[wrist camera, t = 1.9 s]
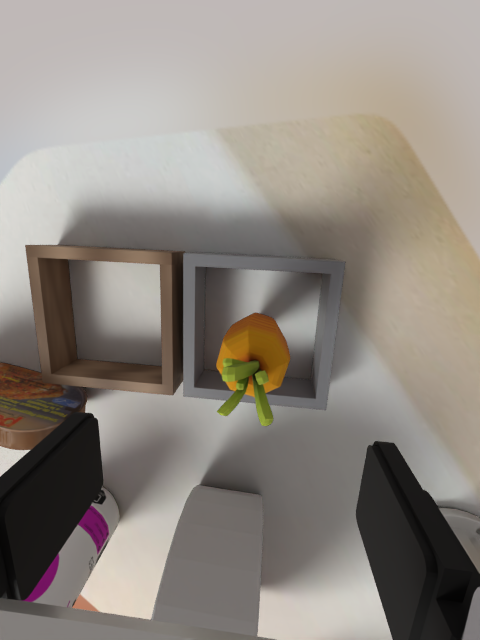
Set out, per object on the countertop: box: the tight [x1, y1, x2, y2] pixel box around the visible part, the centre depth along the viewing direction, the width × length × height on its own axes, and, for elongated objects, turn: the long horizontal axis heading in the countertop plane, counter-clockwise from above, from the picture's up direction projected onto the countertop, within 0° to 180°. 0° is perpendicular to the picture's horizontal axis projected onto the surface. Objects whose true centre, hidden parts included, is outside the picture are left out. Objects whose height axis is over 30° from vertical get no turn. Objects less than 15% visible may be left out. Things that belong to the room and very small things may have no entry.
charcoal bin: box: [183, 252, 345, 410], centre depth 28 cm, size 13×13×4 cm
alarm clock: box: [151, 485, 263, 636], centre depth 27 cm, size 21×8×20 cm, turn 175°
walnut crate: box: [25, 245, 185, 395], centre depth 29 cm, size 13×13×4 cm
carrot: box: [216, 313, 290, 426], centre depth 23 cm, size 5×5×15 cm
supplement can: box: [21, 487, 120, 608], centre depth 31 cm, size 8×8×15 cm
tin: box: [0, 363, 87, 450], centre depth 30 cm, size 15×3×8 cm, turn 76°
